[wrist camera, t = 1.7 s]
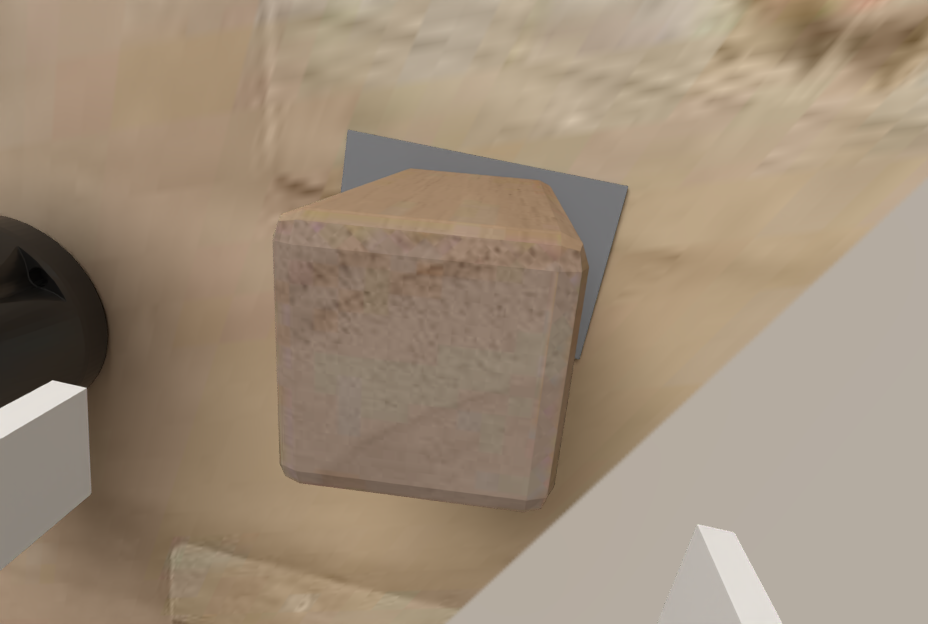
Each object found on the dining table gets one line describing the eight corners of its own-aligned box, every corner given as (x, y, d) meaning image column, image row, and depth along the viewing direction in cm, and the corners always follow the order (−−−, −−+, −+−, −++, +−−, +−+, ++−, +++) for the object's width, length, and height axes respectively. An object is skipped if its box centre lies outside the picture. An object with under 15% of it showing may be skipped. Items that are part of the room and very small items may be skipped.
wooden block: (535, 328, 38) (552, 528, 19) (391, 313, 38) (269, 491, 19) (554, 180, 34) (599, 241, 16) (397, 165, 35) (258, 207, 16)
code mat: (329, 304, 39) (328, 306, 39) (349, 129, 35) (347, 129, 35) (578, 357, 38) (579, 359, 38) (627, 186, 34) (628, 186, 34)
